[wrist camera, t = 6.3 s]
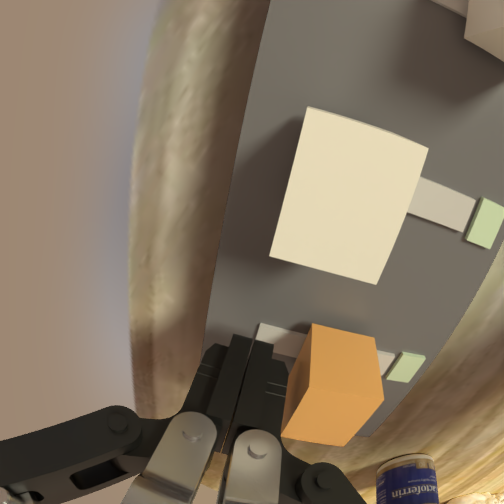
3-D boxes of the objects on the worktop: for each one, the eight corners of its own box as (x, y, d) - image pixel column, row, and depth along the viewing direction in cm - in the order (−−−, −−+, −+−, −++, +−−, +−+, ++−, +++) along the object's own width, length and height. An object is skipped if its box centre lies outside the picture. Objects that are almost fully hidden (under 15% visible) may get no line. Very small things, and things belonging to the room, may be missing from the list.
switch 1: (281, 210, 10) (269, 256, 7) (307, 106, 8) (306, 107, 5) (360, 232, 9) (376, 284, 7) (392, 132, 8) (428, 148, 5)
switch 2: (288, 377, 13) (280, 436, 10) (312, 323, 11) (309, 386, 9) (342, 389, 13) (343, 446, 10) (374, 337, 11) (384, 399, 8)
